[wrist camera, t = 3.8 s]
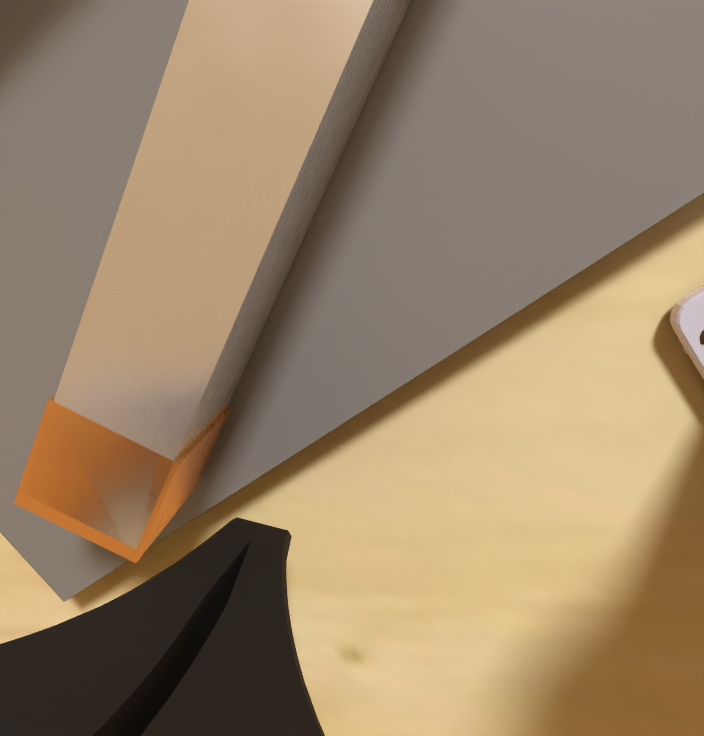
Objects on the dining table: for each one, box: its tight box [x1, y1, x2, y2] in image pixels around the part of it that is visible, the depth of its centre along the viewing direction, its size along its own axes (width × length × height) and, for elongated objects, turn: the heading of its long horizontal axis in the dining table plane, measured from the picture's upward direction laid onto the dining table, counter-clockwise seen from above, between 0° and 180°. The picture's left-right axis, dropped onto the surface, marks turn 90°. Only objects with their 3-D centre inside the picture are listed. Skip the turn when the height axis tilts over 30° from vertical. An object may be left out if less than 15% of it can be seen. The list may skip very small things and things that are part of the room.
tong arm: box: [14, 0, 411, 563], centre depth 10 cm, size 16×3×3 cm, turn 154°
